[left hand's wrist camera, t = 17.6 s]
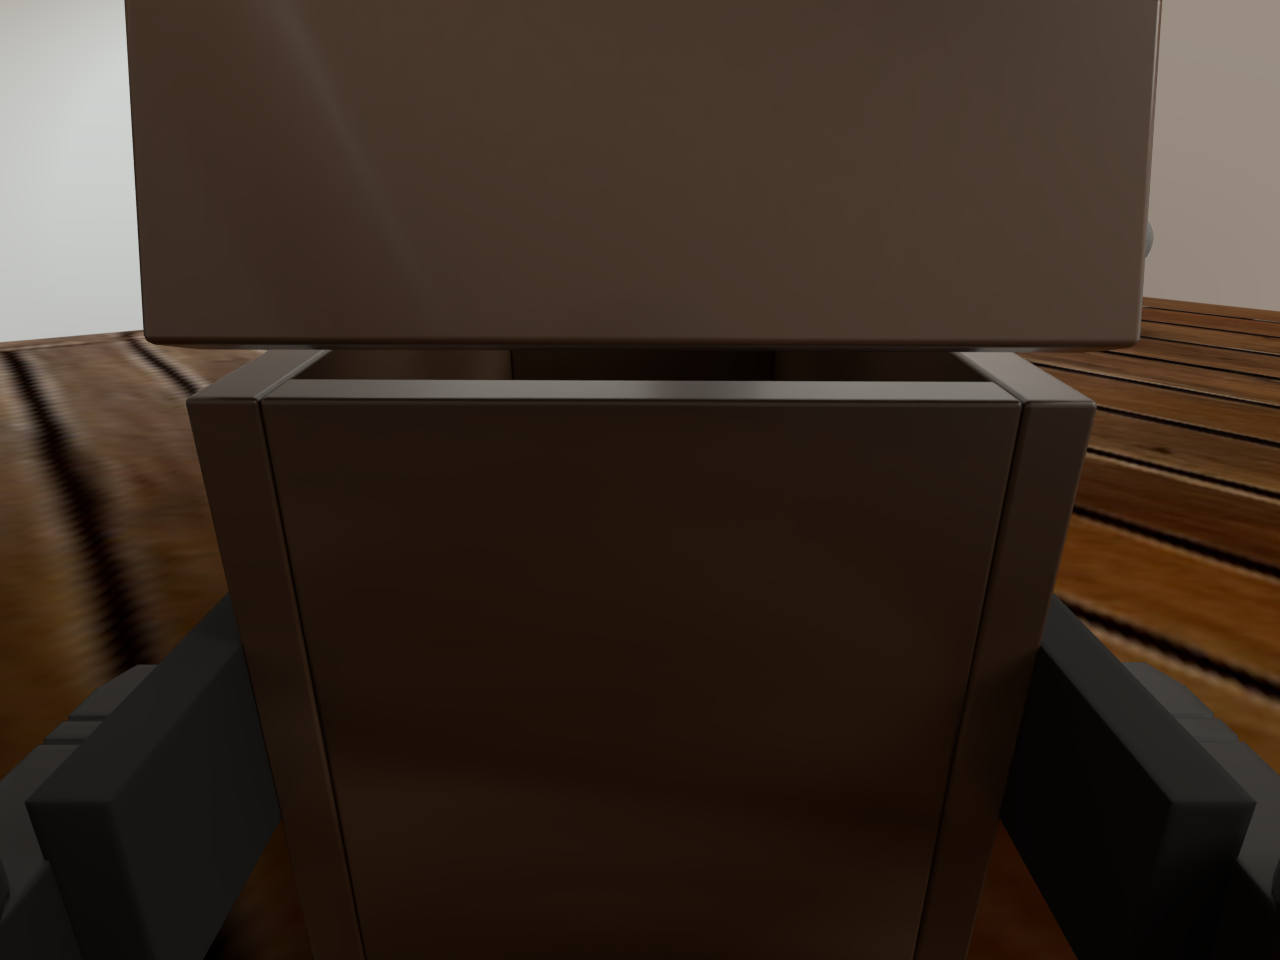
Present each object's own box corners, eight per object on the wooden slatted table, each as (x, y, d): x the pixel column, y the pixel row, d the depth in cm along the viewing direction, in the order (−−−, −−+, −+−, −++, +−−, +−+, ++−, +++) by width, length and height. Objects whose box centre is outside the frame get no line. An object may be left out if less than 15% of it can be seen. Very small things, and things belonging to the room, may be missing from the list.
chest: (504, 562, 28) (480, 225, 24) (777, 563, 28) (804, 226, 24) (338, 1079, 13) (181, 398, 8) (939, 1082, 13) (1101, 400, 8)
